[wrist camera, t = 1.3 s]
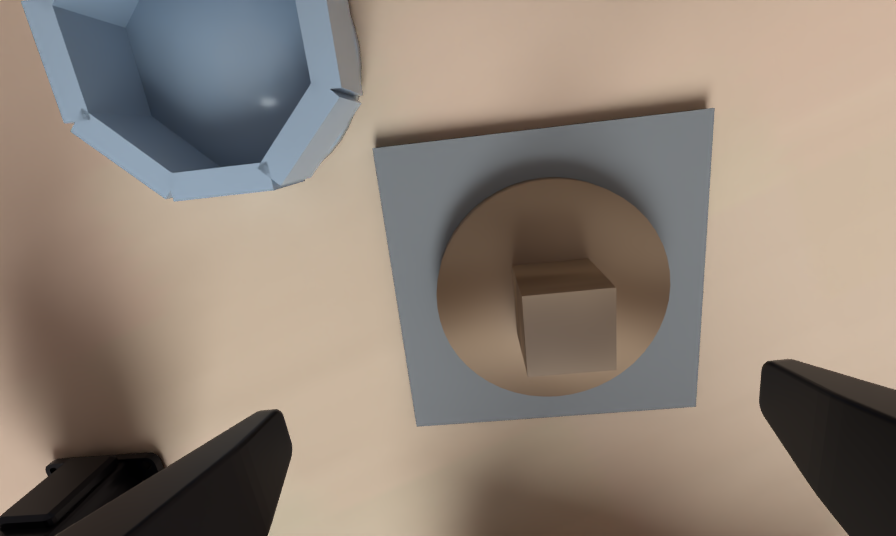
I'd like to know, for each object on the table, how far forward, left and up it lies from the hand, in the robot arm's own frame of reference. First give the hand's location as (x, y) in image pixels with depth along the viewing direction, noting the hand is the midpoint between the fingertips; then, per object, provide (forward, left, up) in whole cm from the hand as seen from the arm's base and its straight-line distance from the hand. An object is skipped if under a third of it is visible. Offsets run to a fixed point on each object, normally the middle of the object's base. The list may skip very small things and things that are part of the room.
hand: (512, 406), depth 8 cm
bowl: (+9, +9, -13) cm, 18 cm away
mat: (-2, -3, -13) cm, 13 cm away
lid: (-2, -3, -12) cm, 12 cm away
